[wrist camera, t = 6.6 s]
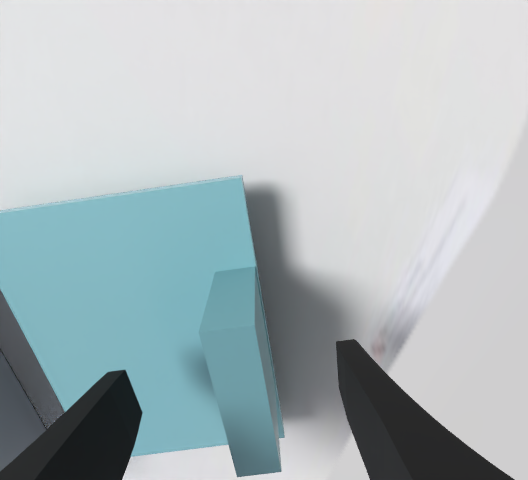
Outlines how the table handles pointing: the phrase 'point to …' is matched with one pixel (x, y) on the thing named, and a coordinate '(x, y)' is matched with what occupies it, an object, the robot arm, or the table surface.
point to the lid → (152, 312)
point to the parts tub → (15, 417)
